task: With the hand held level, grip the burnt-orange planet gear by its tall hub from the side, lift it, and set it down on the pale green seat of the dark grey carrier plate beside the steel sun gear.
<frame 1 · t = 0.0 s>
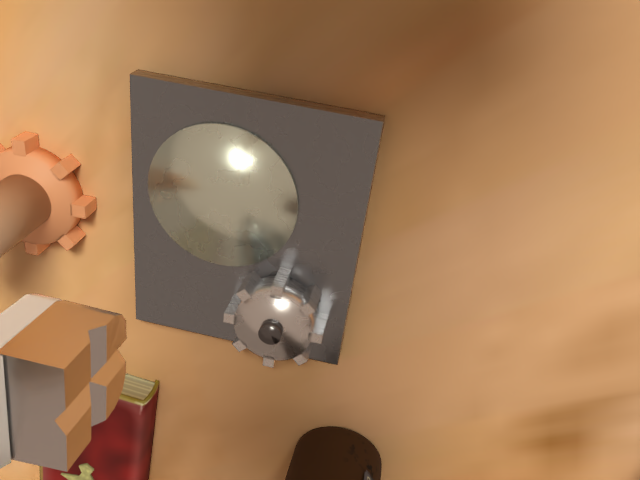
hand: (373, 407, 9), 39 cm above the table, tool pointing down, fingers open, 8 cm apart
olive oil: (339, 456, 66), on the table
carrier plate: (248, 225, 54), on the table
hardcover book: (107, 427, 71), on the table
planet gear: (38, 191, 56), on the table
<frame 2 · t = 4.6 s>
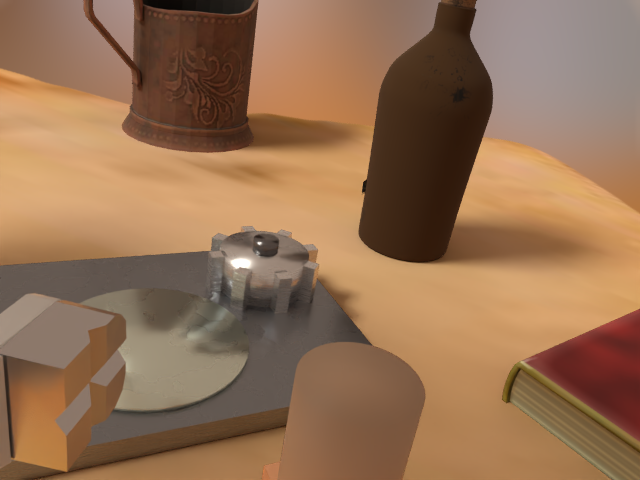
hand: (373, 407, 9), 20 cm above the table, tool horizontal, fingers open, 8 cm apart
olive oil: (401, 242, 65), on the table
carrier plate: (186, 338, 44), on the table
cup holder: (171, 133, 86), on the table
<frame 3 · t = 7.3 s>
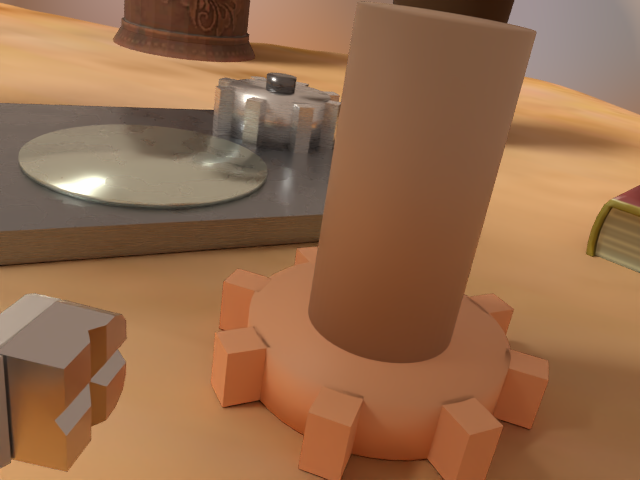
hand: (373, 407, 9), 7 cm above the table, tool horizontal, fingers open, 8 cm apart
olive oil: (423, 129, 59), on the table
carrier plate: (191, 174, 37), on the table
cup holder: (167, 48, 80), on the table
planet gear: (369, 366, 22), on the table
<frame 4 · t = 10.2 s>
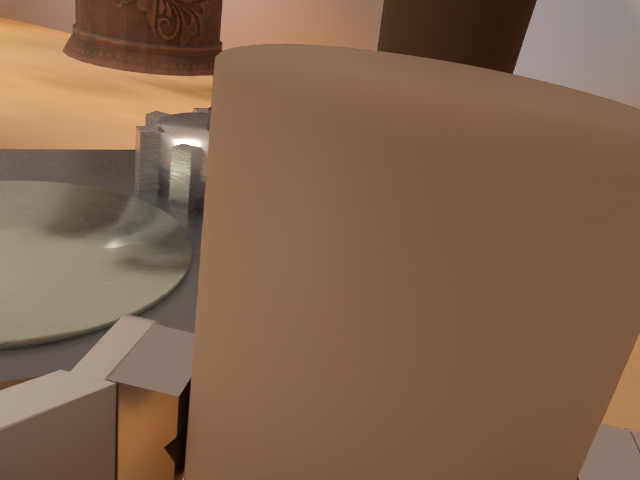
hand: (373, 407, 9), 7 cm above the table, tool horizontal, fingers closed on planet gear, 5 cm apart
olive oil: (420, 163, 48), on the table
carrier plate: (93, 254, 27), on the table
cup holder: (126, 59, 69), on the table
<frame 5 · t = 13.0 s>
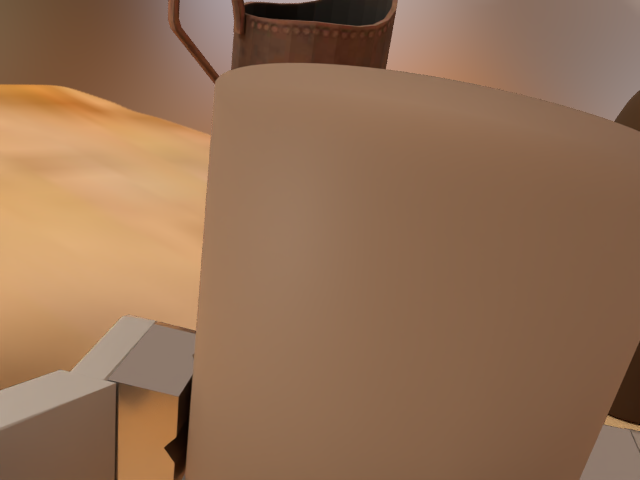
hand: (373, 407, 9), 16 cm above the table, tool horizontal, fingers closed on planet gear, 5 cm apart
olive oil: (614, 379, 41), on the table
cup holder: (272, 179, 67), on the table
when the fingers open (10 cm above the table, at t = 16.0 s): planet gear drops 1 cm, resting on carrier plate.
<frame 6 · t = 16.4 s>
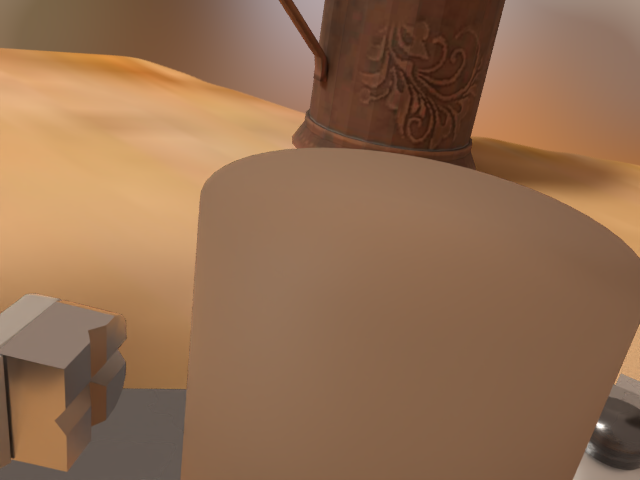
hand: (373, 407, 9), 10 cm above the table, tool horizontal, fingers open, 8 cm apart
cup holder: (359, 153, 60), on the table
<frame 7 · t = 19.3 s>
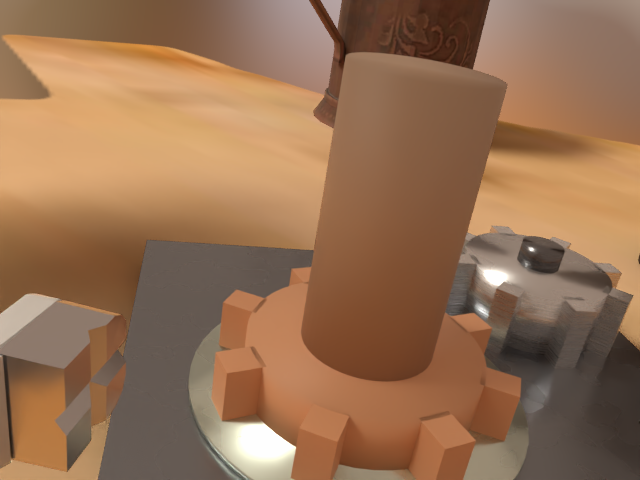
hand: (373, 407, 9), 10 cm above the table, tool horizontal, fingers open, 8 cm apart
carrier plate: (407, 386, 27), on the table
cup holder: (369, 125, 72), on the table
planet gear: (357, 381, 24), point 2 cm above the table, touching carrier plate
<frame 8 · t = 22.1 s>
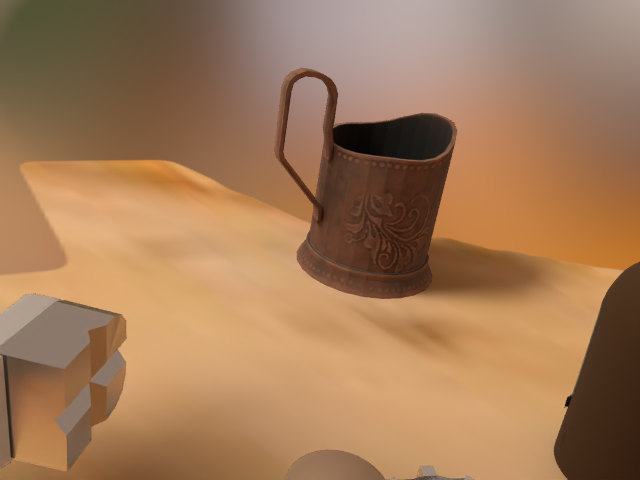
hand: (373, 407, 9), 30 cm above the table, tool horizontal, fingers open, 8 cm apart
olive oil: (607, 472, 53), on the table
cup holder: (345, 266, 82), on the table
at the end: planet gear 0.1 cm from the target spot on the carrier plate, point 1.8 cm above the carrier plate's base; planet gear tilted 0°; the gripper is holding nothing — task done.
